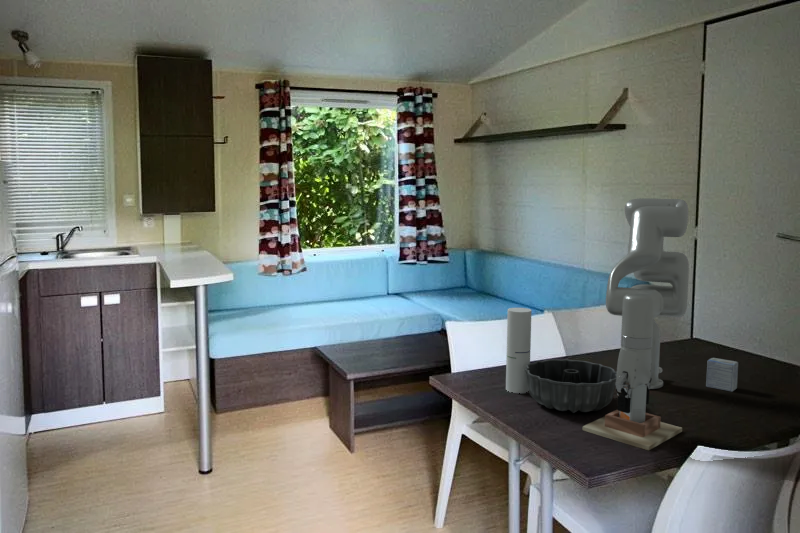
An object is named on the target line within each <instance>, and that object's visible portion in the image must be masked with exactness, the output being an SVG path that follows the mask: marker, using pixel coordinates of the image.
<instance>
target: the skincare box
mask: <svg viewBox="0 0 800 533" xmlns="http://www.w3.org/2000/svg"><path fill="white" fill-rule="evenodd" d="M625 385H628V384H625ZM629 386H630V385H629ZM624 389H625V391H626V392H627V390H628V389H626V388H624ZM646 392H647V386H646V385H645V384H641V385H639V386H637V388H635V389H632V391H631V394H630V396H629V397H630V398H631V405H630V413H625V412H621V411H620V416H619V417H620V418H623V419H627V420H631V421H634V422H638V423H643V422H645V413H647V412H646V409H647V408H646V407H647V404H646Z"/></svg>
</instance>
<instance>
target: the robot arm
mask: <svg viewBox="0 0 800 533" xmlns="http://www.w3.org/2000/svg"><path fill="white" fill-rule="evenodd" d="M624 214H625V218H626V221H627V223H628V225H629V227H630V228H629V238H628V247H627V248H628V249H627V254H626V255H625V256H624V257H622V258H621V259H620V260H619V261H618V262H617V263H616V264H615V265H614V267H613V268H612V270H611V271H610V273H609V276H608V280H607V286H606V293H605V294H606V295H605V308H606V310H607V312H608V313H609V314H610V315H613V316H619V317H621V328H620V329H621V330H620V331H621V332H620V350H619V353H618V359H617V365H616V366H617V367H616V372H617V374H616V383H615V385H616V386H615V390H616V395H617V409H616V410H618V411H621V412H625V413H630V405H631V398H630V397H629V396H630V394H631V391H632V389H635V388H637V386H639V385H641V384H645V385H646V386H647V392H646V405H649V403H650V390H655V389H660V388H662V387H663V386H664V381H663V380H662V379H661V378H659V374H661V373H662V372H663V368H662V367H660V354H661V352H660V349H661V329H660V326H659V324H658V323H657V321H656V320H655V318H657V317H667V318H681V317H683V316H684V315H685V314H686V311H687V308H688V298H689V297H688V296H689V295H688V294H689V278H690V276H689V274H690V264H689V259H688V257H687V255H686V254H685V253H683V252H679V251H665V250H664V239H665V238H681V237H683V236H684V235H685V233H686V232H687V229H688V224H689V206H688V203H687V201H686V200H684V199H681V198H679V199H678V198H654V197H653V198H652V197H651V198H647V197H646V198H645V197H643V198H641V197H640V198H633V199H632V198H631V199H630V200H628V201H626V202H625V205H624ZM631 274H633V276H634V278H635V279H636V280H637V281H642V282H648V283H649V282H650V283H663V284H664V283H666V284H670V285H659V284H636V285H633V286H631V287H620V286H619V284H620V282H621V281H622V280H623V279H624V278H625V277H626V276H629V275H631ZM625 384H628V385H625ZM629 385H630V386H629ZM624 388H626V389H628V390H627V392H626V391H625V389H624Z"/></svg>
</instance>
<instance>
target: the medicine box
mask: <svg viewBox="0 0 800 533" xmlns="http://www.w3.org/2000/svg"><path fill="white" fill-rule="evenodd" d="M706 366H707V367H706V379H705V380H706V382H705V387H707V388H712V389H717V390H723V391H727V392H734V391H735V390H736V389H737V388H738V376H739V375H738V372H739V362H738V361H736V360H735V361H734V360H729V359H723V358H716V357H711V358H709V359H708V360H707V364H706Z"/></svg>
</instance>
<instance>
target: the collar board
mask: <svg viewBox="0 0 800 533" xmlns="http://www.w3.org/2000/svg"><path fill="white" fill-rule="evenodd" d="M619 416H620V411H618V410H617V409H615V410H613V411H611V412H609V413H607V414H605V415H604V416H603V417H600V418H598V419H596V420H594V421H592V422H589V423H587V424H585V425H583V426H582V431H584V432H588V433H590V434H593V435H597V436H600V437H603V438H607V439H611V440H614V441H615V442H619V443H623V444H626V445H629V446H632V447H635V448H638V449H643V450H646V451H650V450H653V449H654V448H656V447H657V446H659V445H661V444H662V443H665V442H666V441H668V440H670V439H671V438H674V437H676V436H677V435H678V434H680V433H682V432H683V427H681V426H676V425H673V424H670V423H666V422H664V421H663V422H662V421H661V419H662V417H661V416H660V415H656V414H652V413H650V412H649V413H648V412H645V422H643V423H638V422H634V421H631V420H627V419H623V418H620V417H619Z"/></svg>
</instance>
